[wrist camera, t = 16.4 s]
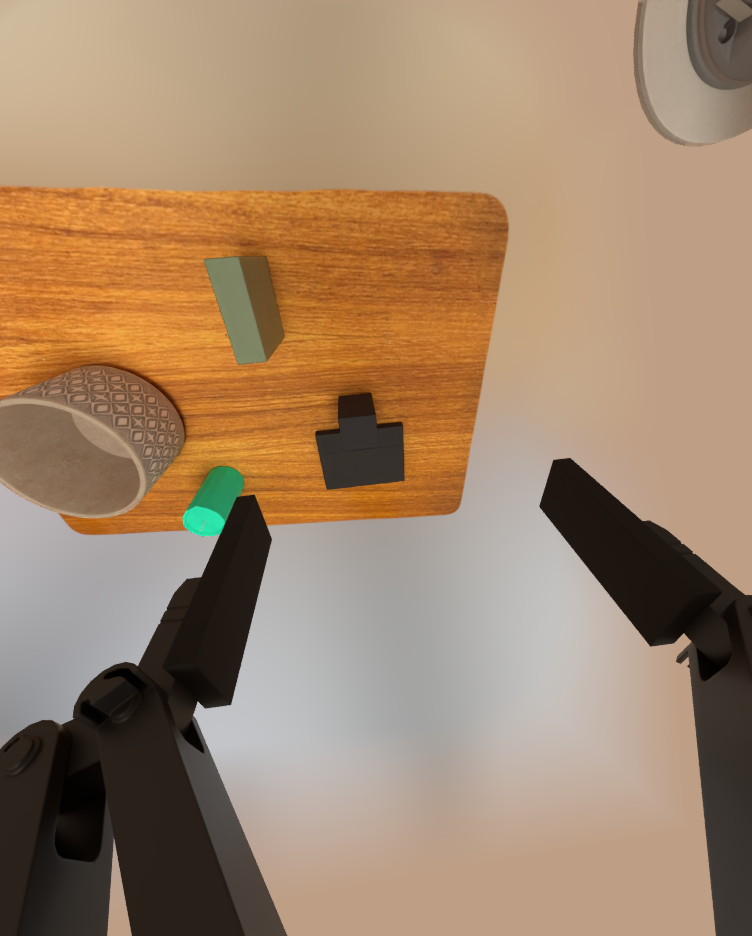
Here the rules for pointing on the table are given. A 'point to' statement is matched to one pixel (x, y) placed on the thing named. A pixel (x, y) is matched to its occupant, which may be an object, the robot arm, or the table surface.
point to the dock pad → (362, 458)
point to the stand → (247, 306)
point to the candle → (213, 502)
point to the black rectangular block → (357, 422)
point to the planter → (87, 441)
